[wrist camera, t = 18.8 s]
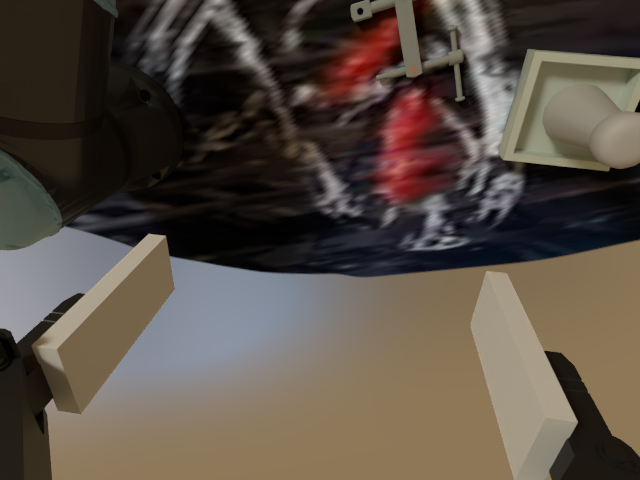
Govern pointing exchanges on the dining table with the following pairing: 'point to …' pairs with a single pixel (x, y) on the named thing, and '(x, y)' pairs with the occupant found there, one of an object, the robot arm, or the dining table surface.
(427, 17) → the dining table surface
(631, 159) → the salt shaker
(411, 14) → the clamp
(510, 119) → the tray
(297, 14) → the dining table surface
